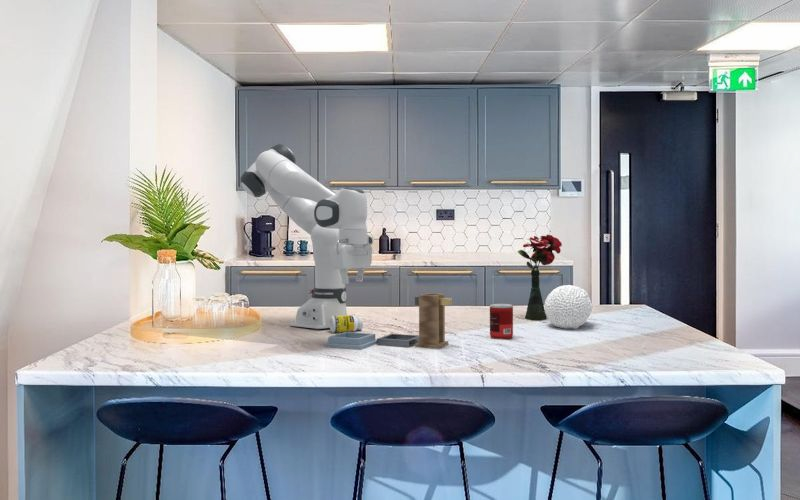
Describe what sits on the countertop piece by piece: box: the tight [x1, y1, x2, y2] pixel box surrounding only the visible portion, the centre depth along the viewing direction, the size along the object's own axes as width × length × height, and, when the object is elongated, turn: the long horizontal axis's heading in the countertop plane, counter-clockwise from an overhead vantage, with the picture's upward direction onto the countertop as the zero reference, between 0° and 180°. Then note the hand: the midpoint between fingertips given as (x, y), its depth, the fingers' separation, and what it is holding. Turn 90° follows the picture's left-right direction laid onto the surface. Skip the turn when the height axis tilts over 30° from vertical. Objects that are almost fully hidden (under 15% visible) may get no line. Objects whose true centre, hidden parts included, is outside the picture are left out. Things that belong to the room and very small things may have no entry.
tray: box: [323, 331, 377, 351], centre depth 192 cm, size 13×13×3 cm
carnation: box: [516, 234, 563, 321], centre depth 242 cm, size 16×18×35 cm
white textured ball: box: [544, 284, 593, 330], centre depth 225 cm, size 20×18×16 cm
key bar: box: [414, 295, 453, 306], centre depth 190 cm, size 11×4×3 cm, turn 67°
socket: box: [376, 333, 419, 348], centre depth 195 cm, size 11×11×2 cm
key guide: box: [414, 292, 449, 349], centre depth 190 cm, size 8×8×16 cm
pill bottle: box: [329, 314, 364, 334], centre depth 218 cm, size 6×6×11 cm
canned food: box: [489, 303, 514, 340], centre depth 206 cm, size 8×8×11 cm
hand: (352, 282), depth 192 cm, fingers open, 8 cm apart
